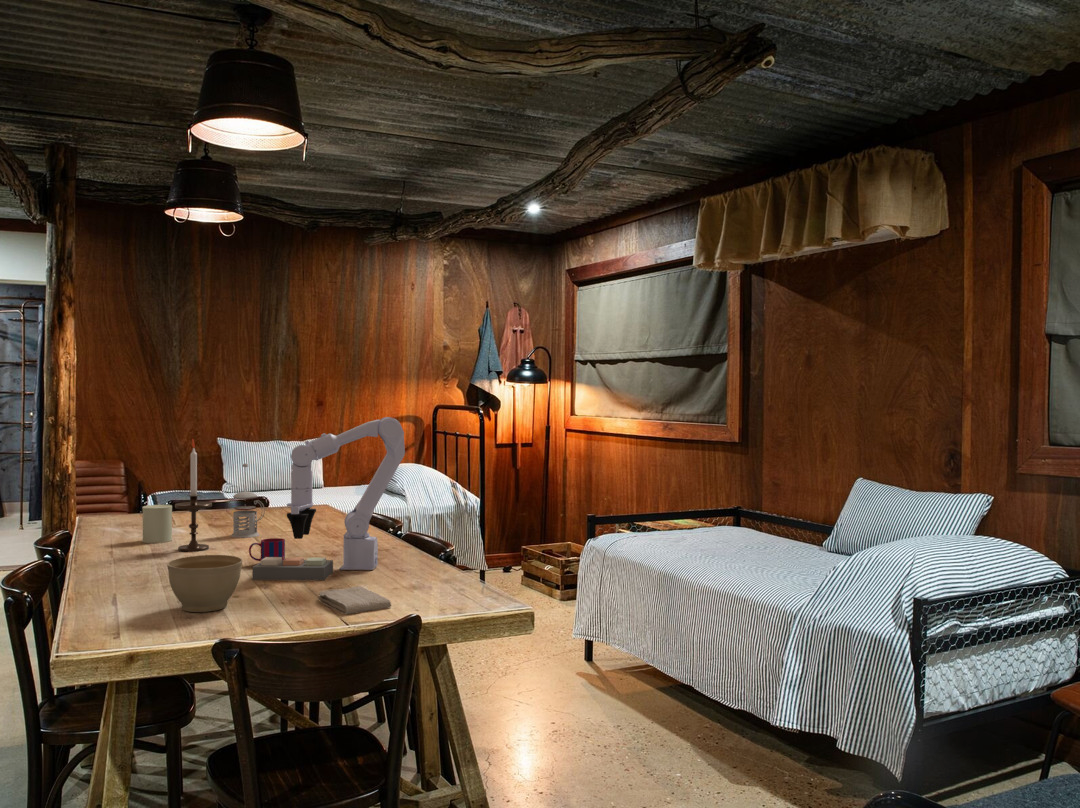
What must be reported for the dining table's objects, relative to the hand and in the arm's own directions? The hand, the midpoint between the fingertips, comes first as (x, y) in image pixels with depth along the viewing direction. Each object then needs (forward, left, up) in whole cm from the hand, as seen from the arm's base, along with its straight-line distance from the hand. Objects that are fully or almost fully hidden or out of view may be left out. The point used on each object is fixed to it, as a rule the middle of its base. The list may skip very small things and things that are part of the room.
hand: (301, 536), depth 244 cm
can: (+61, -46, -10) cm, 77 cm away
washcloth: (-22, +38, -10) cm, 45 cm away
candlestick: (+43, -31, -10) cm, 53 cm away
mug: (+13, -9, -10) cm, 18 cm away
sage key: (-6, +8, -7) cm, 12 cm away
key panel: (0, +8, -9) cm, 12 cm away
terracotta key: (0, +8, -7) cm, 11 cm away
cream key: (+6, +8, -7) cm, 12 cm away
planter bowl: (+11, +43, -10) cm, 45 cm away
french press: (+35, -58, -10) cm, 68 cm away
